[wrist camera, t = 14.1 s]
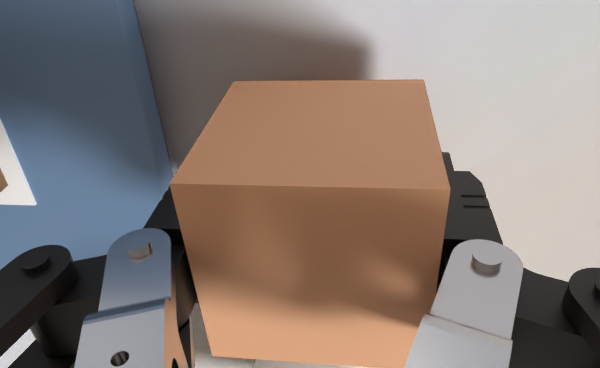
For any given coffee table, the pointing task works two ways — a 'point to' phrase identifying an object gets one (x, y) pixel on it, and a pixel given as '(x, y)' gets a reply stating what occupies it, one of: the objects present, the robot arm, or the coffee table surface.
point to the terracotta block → (315, 220)
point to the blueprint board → (76, 127)
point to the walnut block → (2, 181)
